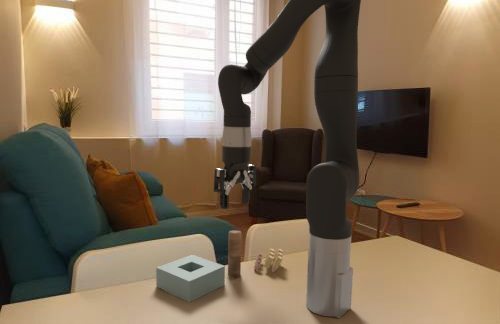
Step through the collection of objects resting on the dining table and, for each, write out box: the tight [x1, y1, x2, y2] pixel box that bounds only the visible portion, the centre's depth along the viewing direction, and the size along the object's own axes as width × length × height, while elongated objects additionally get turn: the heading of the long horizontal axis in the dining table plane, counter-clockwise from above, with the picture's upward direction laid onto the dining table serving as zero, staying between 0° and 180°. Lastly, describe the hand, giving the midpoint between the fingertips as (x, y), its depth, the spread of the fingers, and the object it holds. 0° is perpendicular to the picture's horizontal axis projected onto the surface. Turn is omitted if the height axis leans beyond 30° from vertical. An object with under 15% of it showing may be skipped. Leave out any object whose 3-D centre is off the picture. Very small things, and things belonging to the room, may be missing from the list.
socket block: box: [155, 254, 226, 303], centre depth 95 cm, size 12×12×5 cm
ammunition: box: [253, 247, 284, 273], centre depth 108 cm, size 5×7×8 cm
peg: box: [227, 230, 242, 279], centre depth 101 cm, size 3×3×12 cm
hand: (235, 205), depth 100 cm, fingers open, 8 cm apart
